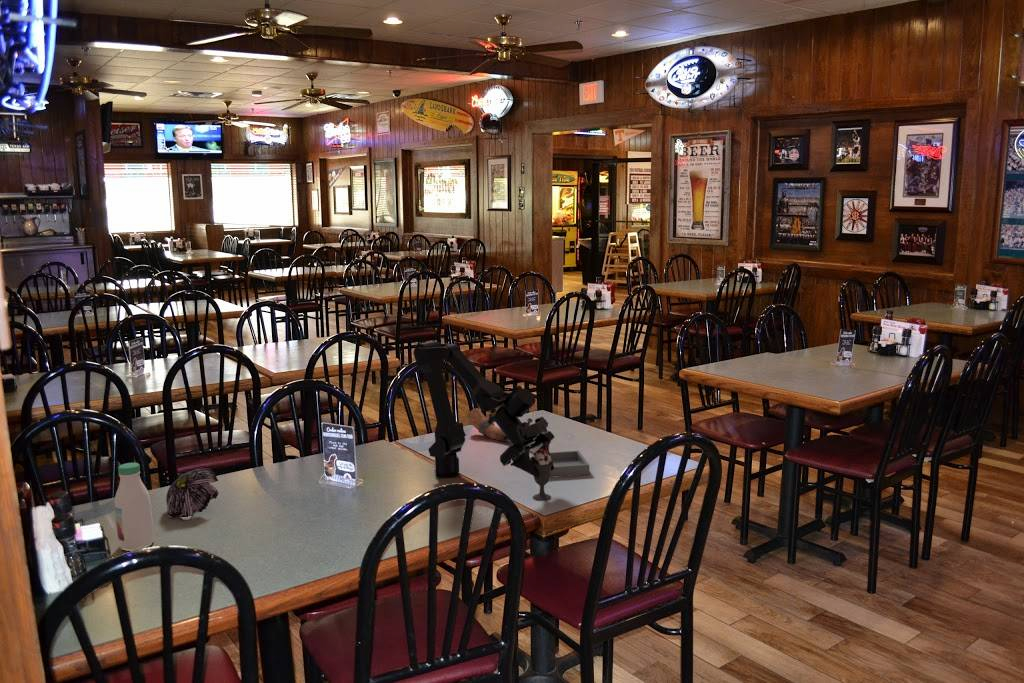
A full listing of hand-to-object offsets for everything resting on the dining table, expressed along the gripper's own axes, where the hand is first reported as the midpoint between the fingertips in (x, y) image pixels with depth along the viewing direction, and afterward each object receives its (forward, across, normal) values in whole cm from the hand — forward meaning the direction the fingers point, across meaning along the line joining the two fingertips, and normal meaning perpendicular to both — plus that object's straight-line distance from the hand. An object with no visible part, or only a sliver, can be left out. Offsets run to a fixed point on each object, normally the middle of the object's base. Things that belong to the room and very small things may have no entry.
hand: (546, 473), depth 221 cm
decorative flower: (-46, -59, +57) cm, 94 cm away
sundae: (+4, 0, +6) cm, 7 cm away
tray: (-2, +23, +12) cm, 26 cm away
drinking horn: (-25, +35, +35) cm, 56 cm away
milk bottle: (-40, -79, +50) cm, 102 cm away
